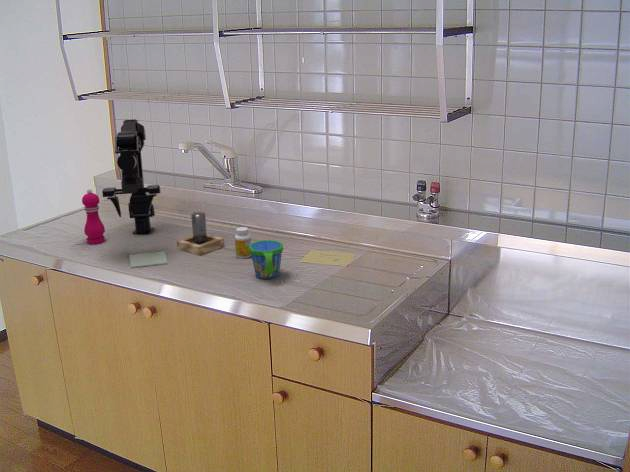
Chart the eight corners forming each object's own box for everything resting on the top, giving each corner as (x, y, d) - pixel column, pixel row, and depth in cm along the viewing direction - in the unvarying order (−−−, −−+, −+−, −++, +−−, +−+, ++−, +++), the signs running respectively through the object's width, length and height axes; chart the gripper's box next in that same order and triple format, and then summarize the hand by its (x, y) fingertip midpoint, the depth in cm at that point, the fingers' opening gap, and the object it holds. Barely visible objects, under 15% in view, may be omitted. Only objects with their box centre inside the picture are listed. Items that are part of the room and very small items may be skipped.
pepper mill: (109, 238, 261) (102, 186, 254) (101, 245, 254) (94, 191, 248) (90, 238, 261) (83, 186, 255) (82, 244, 255) (75, 191, 248)
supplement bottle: (232, 256, 239) (230, 229, 236) (244, 252, 243) (242, 225, 240) (243, 259, 235) (241, 232, 232) (255, 255, 239) (253, 228, 236)
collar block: (177, 249, 247) (176, 241, 246) (202, 240, 256) (201, 232, 255) (199, 255, 240) (199, 247, 239) (224, 246, 249) (224, 238, 248)
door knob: (194, 244, 251) (192, 211, 247) (211, 245, 251) (208, 211, 247) (190, 250, 246) (187, 216, 242) (207, 250, 245) (204, 216, 241)
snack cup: (285, 284, 214) (283, 252, 211) (250, 285, 213) (248, 254, 210) (283, 266, 229) (282, 236, 225) (251, 267, 228) (249, 238, 225)
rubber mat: (129, 256, 241) (129, 255, 241) (165, 252, 244) (164, 251, 244) (130, 268, 230) (130, 266, 230) (167, 263, 233) (167, 262, 233)
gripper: (98, 172, 227) (102, 220, 229) (156, 169, 229) (160, 216, 231) (102, 171, 237) (107, 217, 239) (158, 168, 240) (162, 213, 242)
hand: (134, 216), depth 238 cm, fingers open, 9 cm apart
